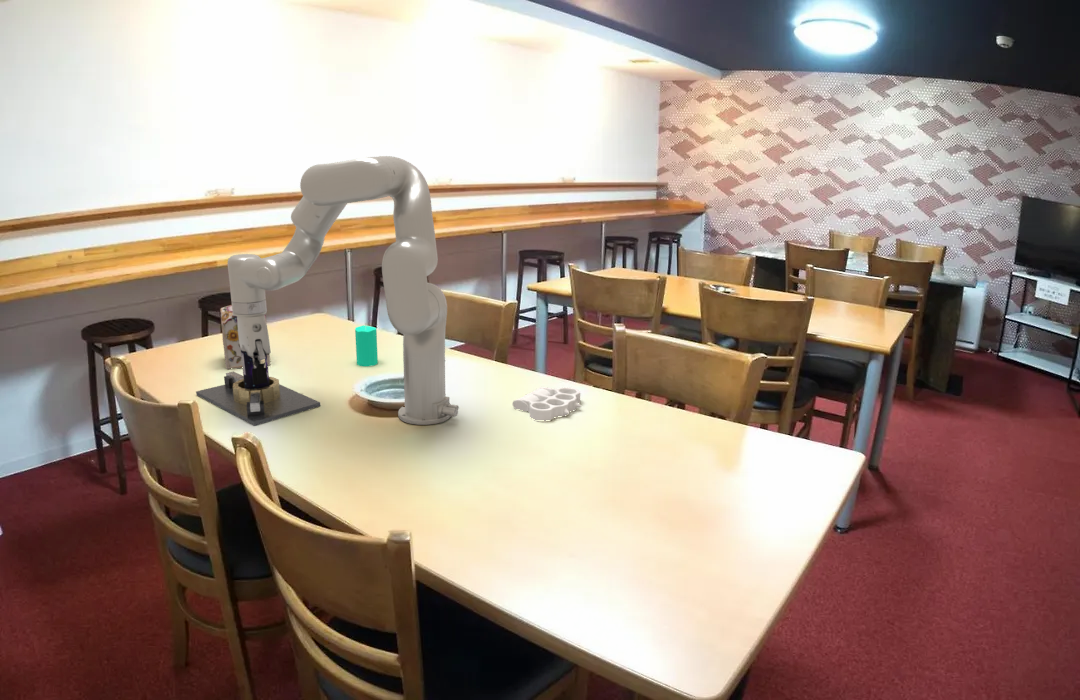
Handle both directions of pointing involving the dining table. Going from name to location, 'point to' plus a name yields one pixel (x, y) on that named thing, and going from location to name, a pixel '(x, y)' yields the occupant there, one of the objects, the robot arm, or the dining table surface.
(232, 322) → the decorative jar
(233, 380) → the grey plate with collar
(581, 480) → the dining table surface
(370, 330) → the candle
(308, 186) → the robot arm
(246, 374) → the beverage can
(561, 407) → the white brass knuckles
